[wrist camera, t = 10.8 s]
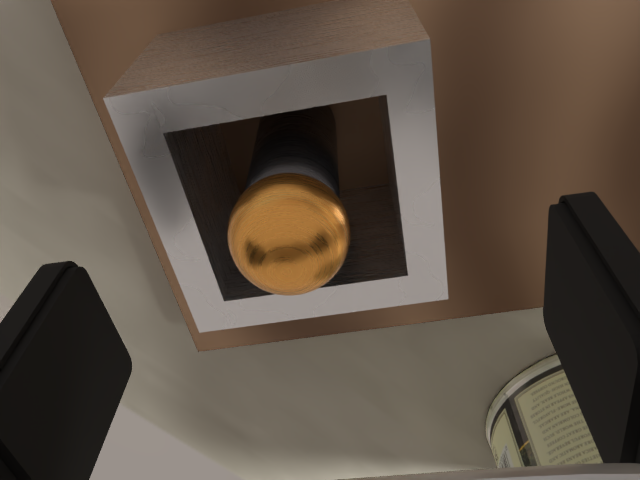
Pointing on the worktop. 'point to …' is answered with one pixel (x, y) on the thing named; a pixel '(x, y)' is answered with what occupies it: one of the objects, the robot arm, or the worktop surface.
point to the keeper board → (438, 135)
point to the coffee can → (539, 421)
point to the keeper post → (291, 205)
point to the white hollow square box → (277, 97)
